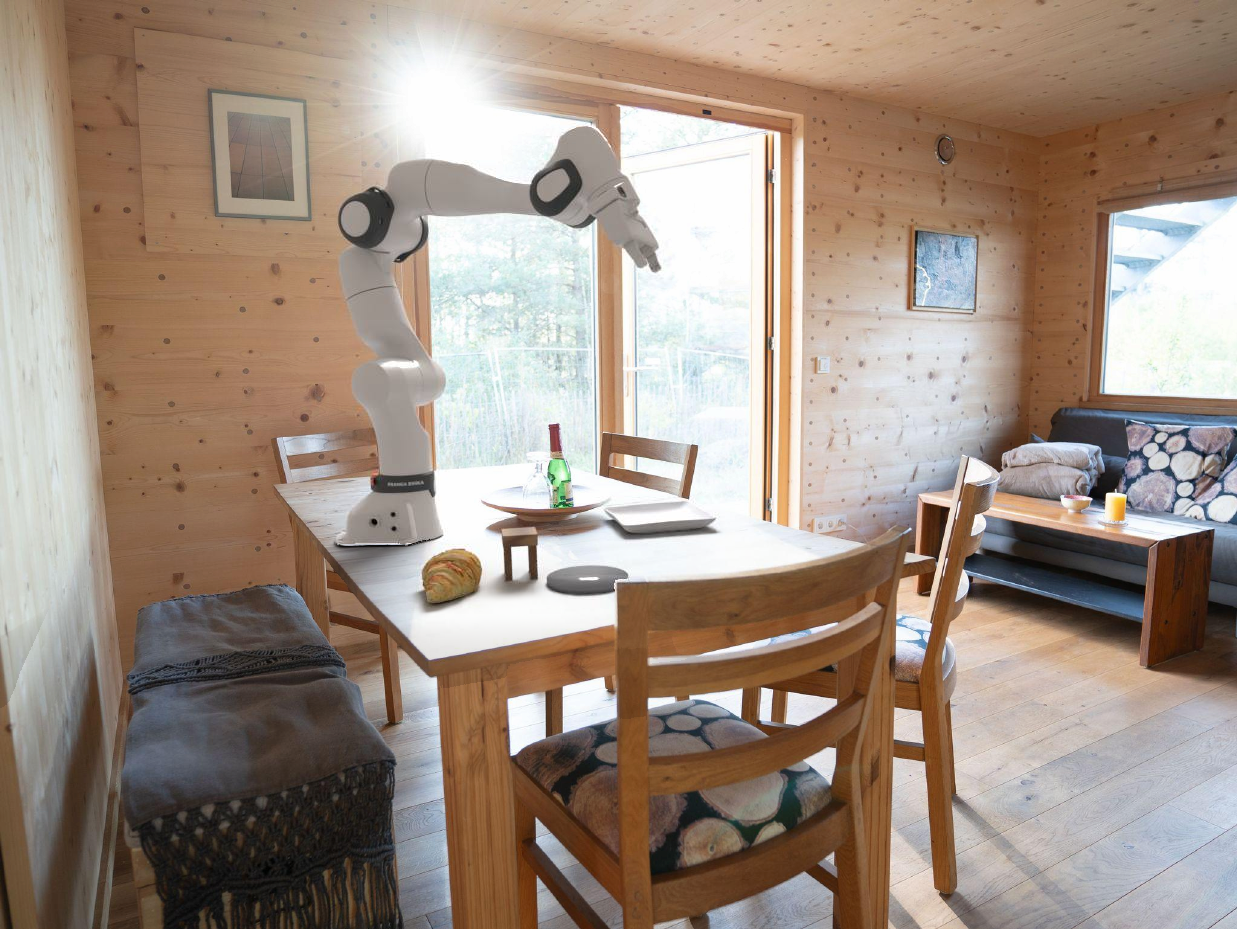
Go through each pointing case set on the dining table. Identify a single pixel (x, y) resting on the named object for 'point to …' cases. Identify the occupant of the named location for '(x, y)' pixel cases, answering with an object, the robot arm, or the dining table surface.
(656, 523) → the salad plate
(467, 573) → the croissant
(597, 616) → the dining table surface
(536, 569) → the stool
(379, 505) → the robot arm
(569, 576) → the grey flat disc
